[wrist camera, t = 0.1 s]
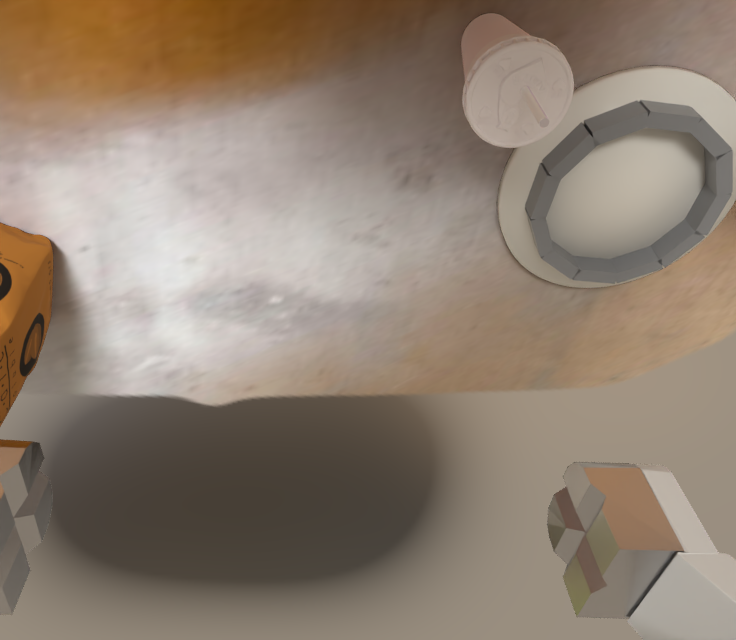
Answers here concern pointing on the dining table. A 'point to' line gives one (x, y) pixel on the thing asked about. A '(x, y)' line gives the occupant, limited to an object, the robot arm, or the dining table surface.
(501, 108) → the smoothie
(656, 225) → the ring plate
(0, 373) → the coffee package
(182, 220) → the dining table surface
